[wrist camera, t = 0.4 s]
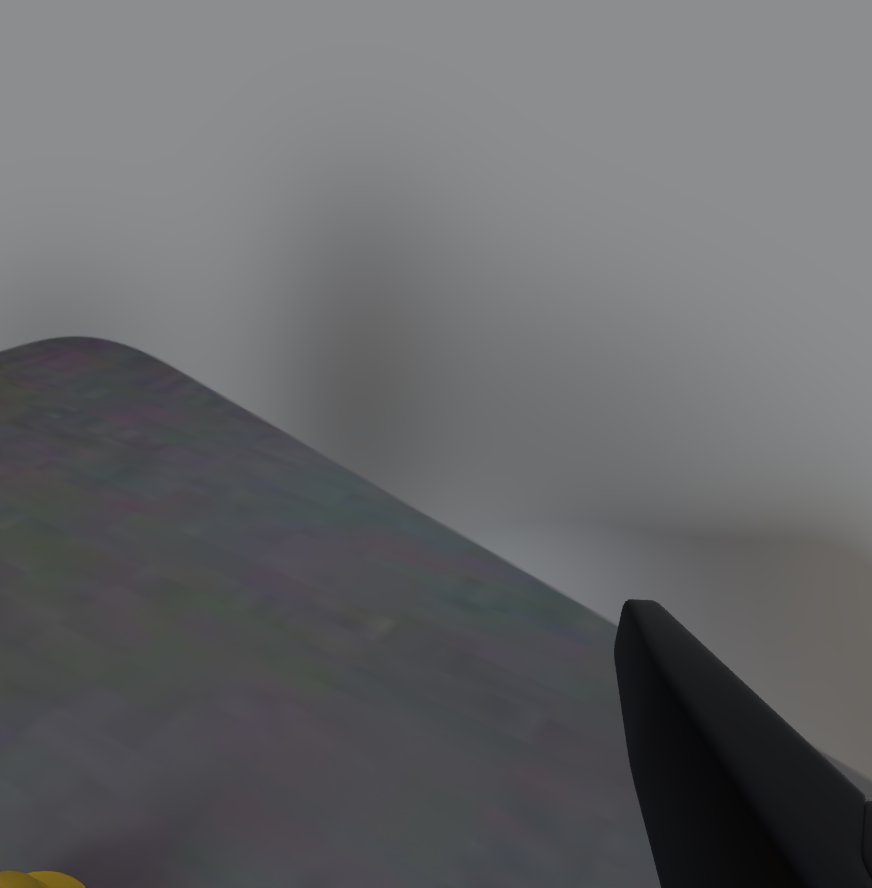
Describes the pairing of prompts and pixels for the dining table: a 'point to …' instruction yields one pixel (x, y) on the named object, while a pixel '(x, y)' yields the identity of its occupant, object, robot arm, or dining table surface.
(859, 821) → the robot arm
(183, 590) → the dining table surface
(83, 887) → the chess piece
